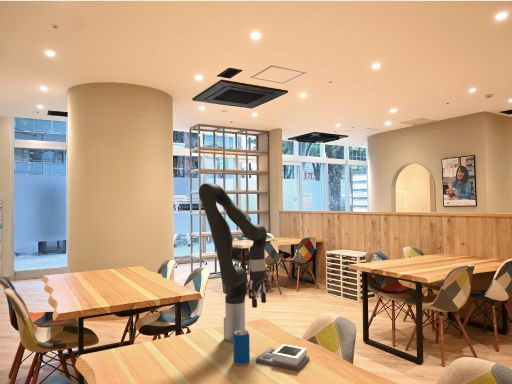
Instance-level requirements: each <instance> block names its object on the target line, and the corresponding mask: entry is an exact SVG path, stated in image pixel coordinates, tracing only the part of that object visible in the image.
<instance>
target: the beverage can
mask: <svg viewBox="0 0 512 384" xmlns="http://www.w3.org/2000/svg"><path fill="white" fill-rule="evenodd" d="M232 343H233V344H232V345H233V351H232V352H233V363H234V364H236V365H237V366H244V365H247V364H248V363H249V362H251V359H250V357H251V356H250V355H251V354H250V353H251V352H250V350H251V349H250V345H251V344H250V334H249V331H248V330H247V329H245V330H237V331H235V332H234V335H233V342H232Z"/></svg>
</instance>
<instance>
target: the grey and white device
mask: <svg viewBox="0 0 512 384" xmlns="http://www.w3.org/2000/svg"><path fill="white" fill-rule="evenodd" d="M307 350H308V348H307V347H300V346H295V345H290V344H285V343H283V344H281V345H280V346H279V347H278V348H272V347H269V348H268V349H266V350H265V351H263V352H262V353H261V354H259V355H258V356H257V357H256V358H255V359H256V360H255V362H256V363H259V364H264V365H268V366H272V367H276V368H281V369H286V370H290V371H295V372H299V371H300V370H301V369H302V368H303V367H304V366H305V364H307V363H308V362H309V361H310V355H308V354H307V353H308V351H307Z"/></svg>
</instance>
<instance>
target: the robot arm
mask: <svg viewBox="0 0 512 384" xmlns="http://www.w3.org/2000/svg"><path fill="white" fill-rule="evenodd" d="M198 195H199V199H200V202H201V205H202V208H203V210H204V213H205V216H206V220H207V223H208V226H209V229H210V234H211V237H212V240H213V245H214V248H215V251H216V256H217V259H218V266H219V272H220V278H221V281H222V284H223V285H224V286H225V288H227V289H229V290H228V292H227V293H226V295H225V296H224V297H225V299H224V300H225V302H224V304H225V305H224V306H225V314H224V315H225V317H224V318H223V339H224V340H226V341H227V342H231V343H233V335H234V332H235V331H237V330H246V296H247V289H248V299H250V300H251V306H252V308H253V309H254V308H255V309H257V308H258V299H257V298H258V296H259V295H260V303H262V304H265V303H267V296H266V295H267V293H268V292H269V282H268V279H267V263H266V254H265V251H266V250H265V248H266V242H267V236H268V234H267V229H266V228H265V226H264V225H263V224H260V223H259V224H253V223H252V218H251V217H250V216H249V215H248V214H247V213H246V211H244V210H243V209H242V208H240V206H239V205H237V204H236V203H235V202H234V200H233V199H232V198H231V196H229V195H228V193H227V192H226V190H225V189H223V187H222V186H221V185H220V184H218V183H210V182H209V183H202V184H201V185H200V187H199V189H198ZM217 205H220V206H221V208H223V209H224V211H225V212H226V215H227V218H228V219H229V220H231V222H233V224H234V225H236V226H237V227H238V228H239V230H240V231H241V233H242V234H243V236H244V237H245V238H246V239H248V240H249V241H252V245H251V246H249V250H248V252H249V253H248V254H249V261H248V262H249V263H248V265H249V266H248V267H249V279H250V281H252V284H247V283H248V275H247V273H246V270H245V268H243V267H242V266H235V265H234V263H233V262H234V261H233V257H232V256H233V255H232V251H233V241H234V240H233V235H232V231H231V227H230V225H229V222H228V221H227V220H226V219H225V217H224V216H223V214H222V213H221V212H220V211H219V208H218V206H217ZM247 286H248V287H247Z"/></svg>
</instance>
